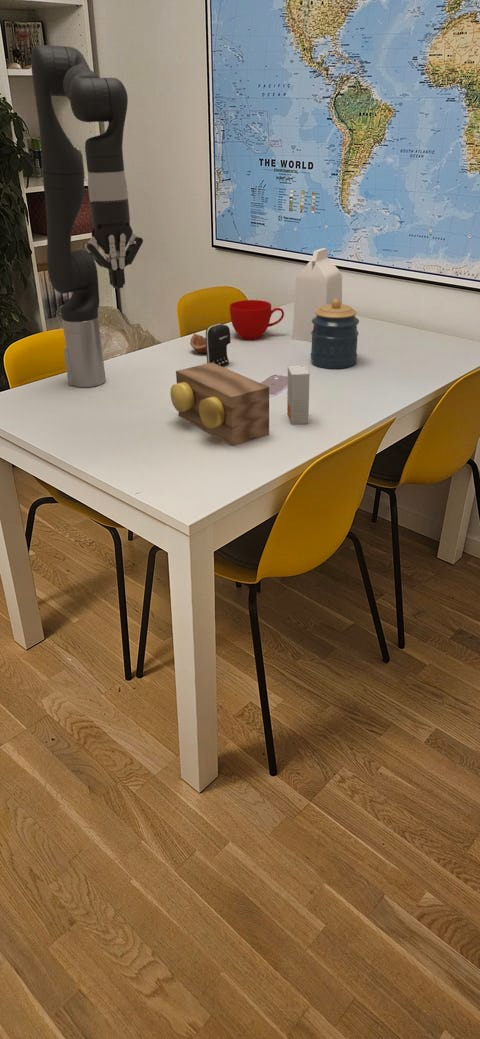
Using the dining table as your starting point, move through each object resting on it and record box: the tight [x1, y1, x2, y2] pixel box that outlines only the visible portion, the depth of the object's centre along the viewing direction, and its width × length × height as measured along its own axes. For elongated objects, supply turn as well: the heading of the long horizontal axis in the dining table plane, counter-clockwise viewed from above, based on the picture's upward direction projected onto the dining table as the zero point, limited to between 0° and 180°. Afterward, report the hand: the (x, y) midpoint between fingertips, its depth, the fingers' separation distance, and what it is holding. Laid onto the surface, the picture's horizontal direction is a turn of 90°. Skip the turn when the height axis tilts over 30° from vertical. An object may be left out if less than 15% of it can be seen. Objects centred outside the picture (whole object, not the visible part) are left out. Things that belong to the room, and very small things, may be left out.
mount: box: [175, 362, 270, 447], centre depth 161 cm, size 13×22×11 cm, turn 36°
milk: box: [291, 247, 343, 343], centre depth 219 cm, size 12×12×26 cm
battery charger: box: [205, 323, 231, 367], centre depth 198 cm, size 7×4×11 cm, turn 138°
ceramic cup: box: [229, 299, 285, 341], centre depth 224 cm, size 13×17×10 cm
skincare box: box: [286, 365, 310, 425], centre depth 163 cm, size 6×4×12 cm
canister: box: [310, 299, 360, 370], centre depth 198 cm, size 13×13×18 cm
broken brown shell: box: [189, 333, 207, 354], centre depth 212 cm, size 8×7×5 cm
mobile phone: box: [260, 374, 288, 398], centre depth 186 cm, size 8×1×15 cm
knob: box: [169, 382, 194, 413], centre depth 165 cm, size 15×6×6 cm, turn 126°
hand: (117, 287), depth 149 cm, fingers closed
